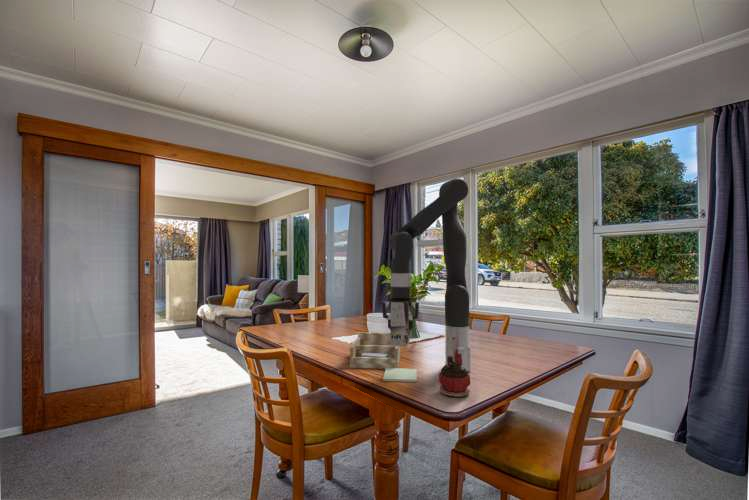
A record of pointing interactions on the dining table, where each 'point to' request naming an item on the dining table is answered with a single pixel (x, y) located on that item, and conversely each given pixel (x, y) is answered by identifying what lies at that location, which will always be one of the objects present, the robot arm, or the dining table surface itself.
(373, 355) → the offcut upper
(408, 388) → the dining table surface
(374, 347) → the crate
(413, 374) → the mat
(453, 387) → the red potted plant
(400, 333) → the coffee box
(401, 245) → the robot arm
